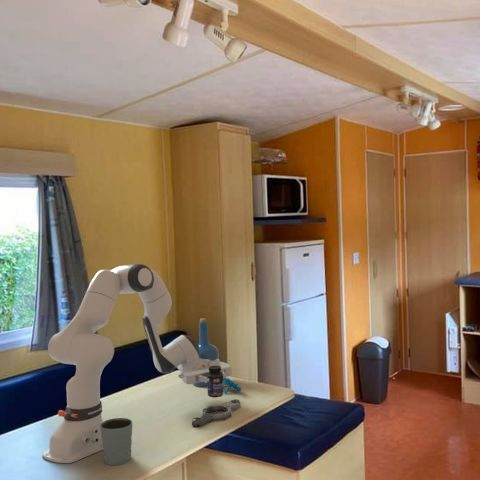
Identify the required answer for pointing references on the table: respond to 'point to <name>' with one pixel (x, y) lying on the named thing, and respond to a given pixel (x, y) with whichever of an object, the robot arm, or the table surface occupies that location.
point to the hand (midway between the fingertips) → (216, 378)
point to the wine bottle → (205, 346)
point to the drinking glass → (116, 440)
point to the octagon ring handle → (209, 418)
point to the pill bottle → (215, 382)
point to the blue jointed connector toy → (230, 385)
